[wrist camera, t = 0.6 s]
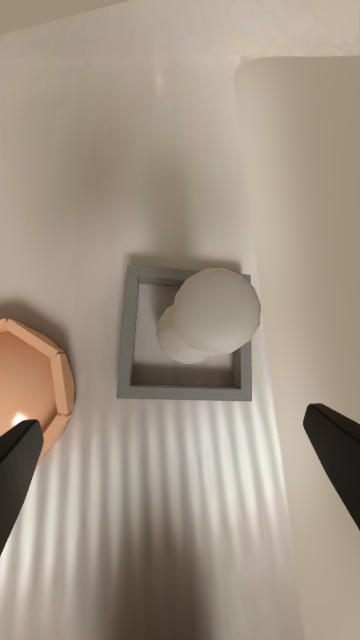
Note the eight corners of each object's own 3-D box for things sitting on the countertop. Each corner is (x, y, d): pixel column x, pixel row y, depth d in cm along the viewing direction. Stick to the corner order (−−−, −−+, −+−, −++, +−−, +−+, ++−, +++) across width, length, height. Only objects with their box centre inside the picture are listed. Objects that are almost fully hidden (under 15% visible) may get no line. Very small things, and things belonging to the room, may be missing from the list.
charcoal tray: (243, 397, 22) (251, 401, 21) (120, 394, 21) (116, 398, 19) (242, 281, 24) (250, 274, 22) (129, 273, 23) (127, 265, 21)
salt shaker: (175, 374, 22) (201, 399, 9) (146, 324, 23) (132, 283, 10) (224, 343, 23) (307, 328, 10) (195, 296, 24) (240, 226, 11)
